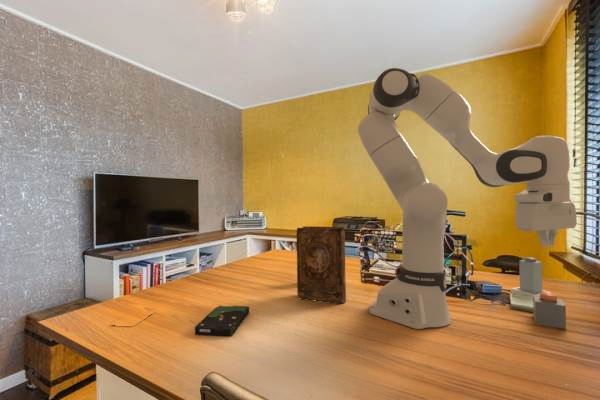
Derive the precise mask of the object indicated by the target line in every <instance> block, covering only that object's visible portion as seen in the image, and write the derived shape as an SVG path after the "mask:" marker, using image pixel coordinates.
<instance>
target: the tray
mask: <svg viewBox="0 0 600 400" xmlns="http://www.w3.org/2000/svg"><path fill="white" fill-rule="evenodd" d="M509 300H510V302H509V303H510V308H511V309H514V310H519V311H525V312H532V313H533V297H527V296H520V295H514V294H511V293H510V294H509Z"/></svg>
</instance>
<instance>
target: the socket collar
mask: <svg viewBox="0 0 600 400" xmlns="http://www.w3.org/2000/svg"><path fill="white" fill-rule="evenodd" d="M542 292H547V293H552V294H553V292H551V291H547V290H544V289H542ZM510 294H515V295H520V296H527V297H533V295H535V294H531V293H528V292H524V291H521V290H520V286H518V287H511V288H510ZM536 295H538V296H540V294H536Z"/></svg>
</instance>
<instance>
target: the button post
mask: <svg viewBox="0 0 600 400" xmlns="http://www.w3.org/2000/svg"><path fill="white" fill-rule="evenodd" d="M566 309H567V307H566V304H565V303H564V301H563V300H562V298H558V297H557V301H554V302H547V301H543V299H541V298H540V296H538V295H533V312H532V313H533V315H532V316H533V319H534V322H535V324H537V325H544V326H548V327H553V328H558V329H564V330H567V313H566V312H567V310H566Z"/></svg>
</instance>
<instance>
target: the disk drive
mask: <svg viewBox="0 0 600 400" xmlns="http://www.w3.org/2000/svg"><path fill="white" fill-rule="evenodd" d="M248 313H249V314H250V307H249V306H245V305H242V306H241V305H239V306H238V305H231V306H225V305H223V306H222V305H218V306H216V307H215V308H214V309H212V311H210V313H208V314H207V315H206V316H205V317H204V318H203V319H202V320H200V322H198V323H197V324H196V325H195V326H194V335H195V336H206V337H207V336H208V337H226V338H227V337H228V338H231V337H233V336H234V334H236V332H237V330H238V329H239V328H238V327H240V326H241V325H242V324H243V322H244V321H245V320H246V318H247V317H248V316H247V315H249V314H248ZM246 316H247V317H246ZM245 317H246V318H245ZM244 319H245V320H244ZM243 320H244V321H243ZM241 323H242V324H241ZM240 324H241V325H240Z"/></svg>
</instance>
